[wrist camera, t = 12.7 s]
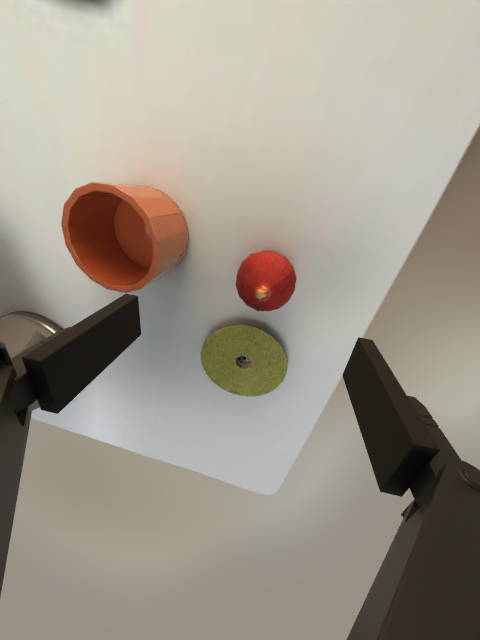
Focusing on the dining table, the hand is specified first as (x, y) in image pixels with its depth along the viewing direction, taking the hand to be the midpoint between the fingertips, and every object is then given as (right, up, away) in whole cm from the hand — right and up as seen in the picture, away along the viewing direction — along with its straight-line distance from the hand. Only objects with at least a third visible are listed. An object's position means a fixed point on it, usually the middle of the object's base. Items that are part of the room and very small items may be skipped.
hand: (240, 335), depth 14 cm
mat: (+1, -4, +18) cm, 19 cm away
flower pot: (-10, +11, +13) cm, 20 cm away
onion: (+3, +6, +13) cm, 15 cm away
